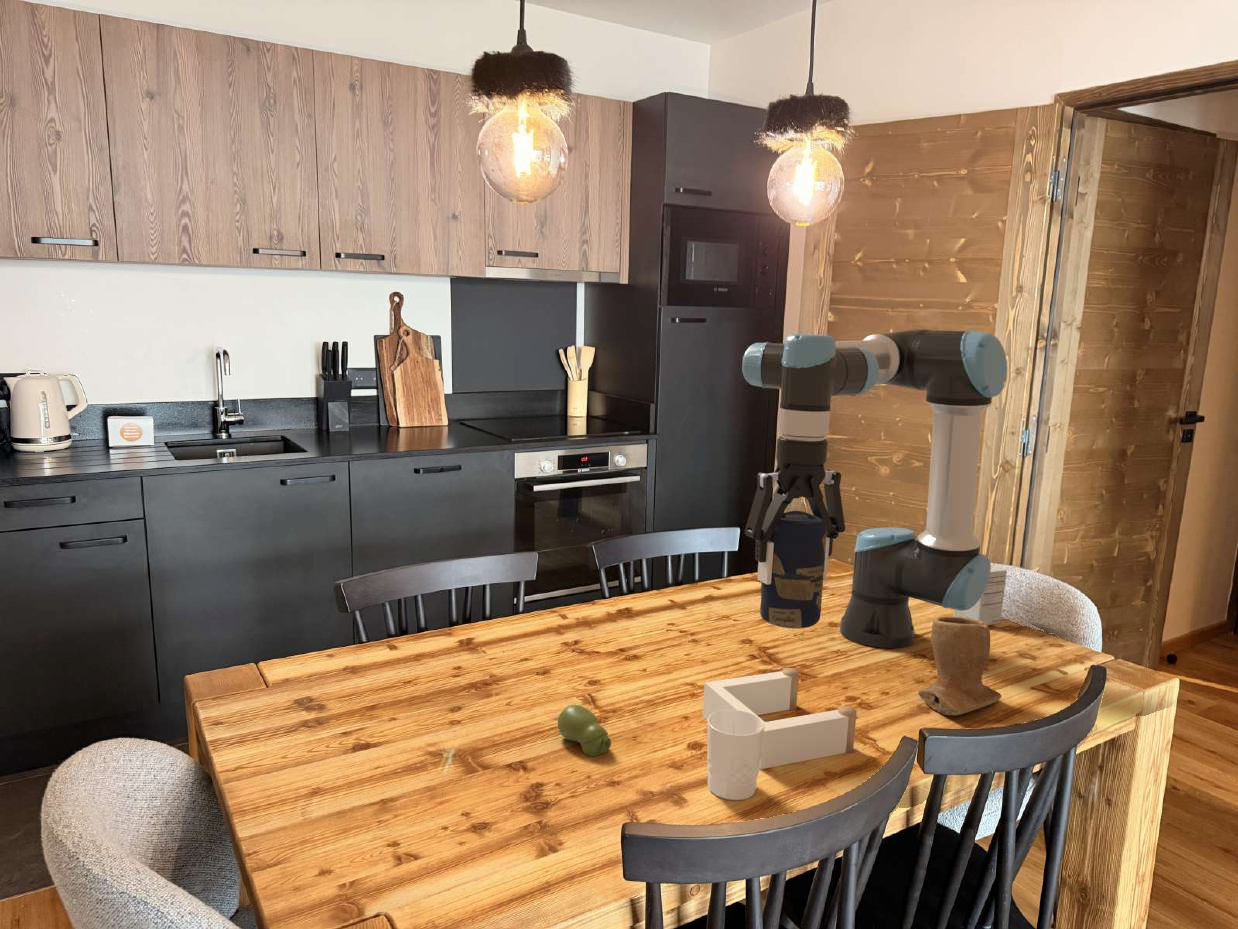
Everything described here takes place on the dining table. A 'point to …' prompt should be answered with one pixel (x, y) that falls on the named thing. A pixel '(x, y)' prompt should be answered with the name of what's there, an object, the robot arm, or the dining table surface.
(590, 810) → the dining table surface
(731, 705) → the bracket
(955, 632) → the stone cup
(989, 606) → the supplement box
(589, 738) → the pear
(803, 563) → the canister
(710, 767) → the white cup
